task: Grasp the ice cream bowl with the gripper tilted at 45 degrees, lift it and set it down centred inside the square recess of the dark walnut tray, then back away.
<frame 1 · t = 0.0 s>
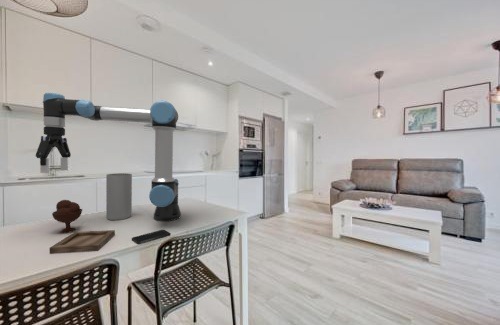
hand: (55, 171, 102), 28 cm above the table, tool pointing down, fingers open, 13 cm apart
ice cream bowl: (68, 231, 101), on the table
walnut tray: (85, 243, 89), on the table
cylinder vase: (119, 217, 124), on the table
phone: (151, 238, 97), on the table
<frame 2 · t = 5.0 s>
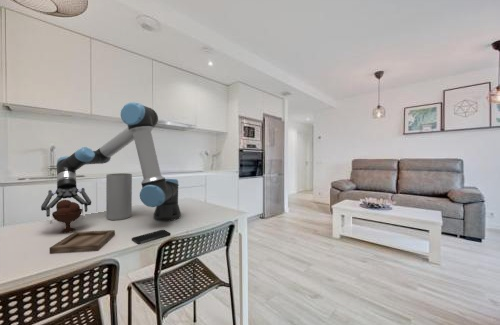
hand: (68, 219, 99), 6 cm above the table, tool tilted 45°, fingers closed on ice cream bowl, 11 cm apart
ice cream bowl: (68, 231, 101), on the table, touching gripper
everything else where it was.
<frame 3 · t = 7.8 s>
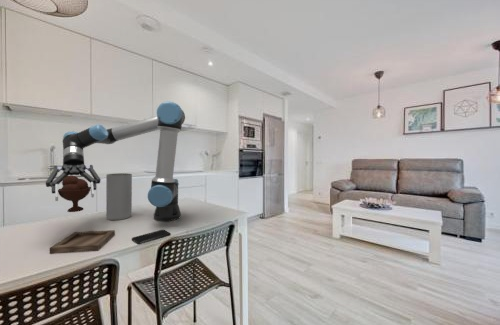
hand: (75, 197, 89), 19 cm above the table, tool tilted 45°, fingers closed on ice cream bowl, 11 cm apart
ice cream bowl: (75, 210, 92), point 13 cm above the table, touching gripper
everything else where it was.
when the fingers open (9 cm above the table, at t = 10.9 s): ice cream bowl drops 1 cm, resting on walnut tray.
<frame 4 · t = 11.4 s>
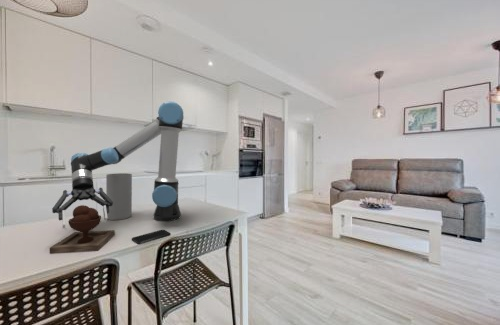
hand: (86, 223, 87), 9 cm above the table, tool tilted 45°, fingers open, 13 cm apart
ice cream bowl: (85, 241, 89), point 1 cm above the table, touching walnut tray
everything else where it was.
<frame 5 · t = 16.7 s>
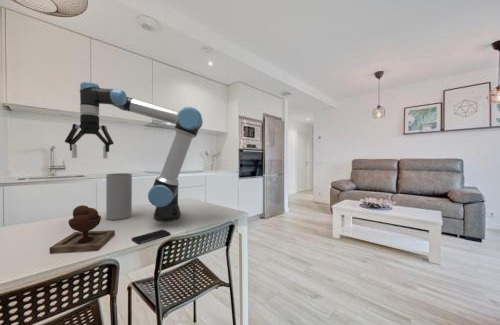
hand: (90, 158, 106), 35 cm above the table, tool pointing down, fingers open, 13 cm apart
nothing on the table moved.
at the end: ice cream bowl 0.0 cm off-centre on the walnut tray, point 0.8 cm above the walnut tray's base; ice cream bowl tilted 0°; the gripper is holding nothing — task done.
